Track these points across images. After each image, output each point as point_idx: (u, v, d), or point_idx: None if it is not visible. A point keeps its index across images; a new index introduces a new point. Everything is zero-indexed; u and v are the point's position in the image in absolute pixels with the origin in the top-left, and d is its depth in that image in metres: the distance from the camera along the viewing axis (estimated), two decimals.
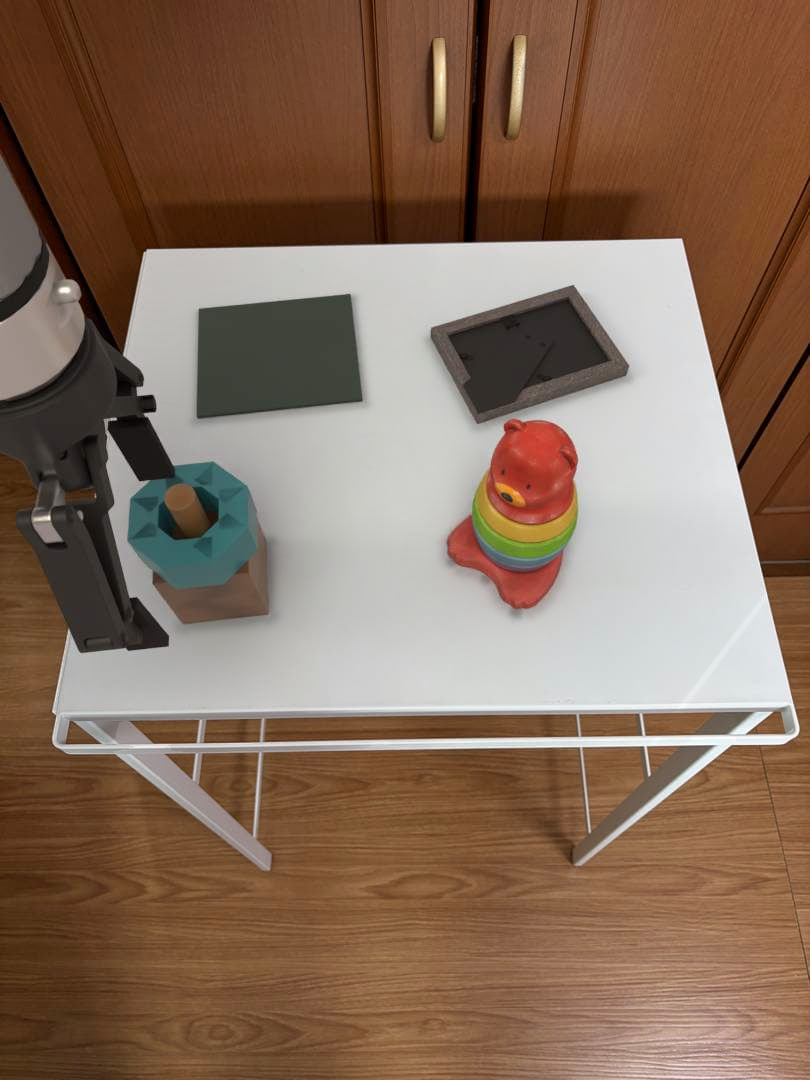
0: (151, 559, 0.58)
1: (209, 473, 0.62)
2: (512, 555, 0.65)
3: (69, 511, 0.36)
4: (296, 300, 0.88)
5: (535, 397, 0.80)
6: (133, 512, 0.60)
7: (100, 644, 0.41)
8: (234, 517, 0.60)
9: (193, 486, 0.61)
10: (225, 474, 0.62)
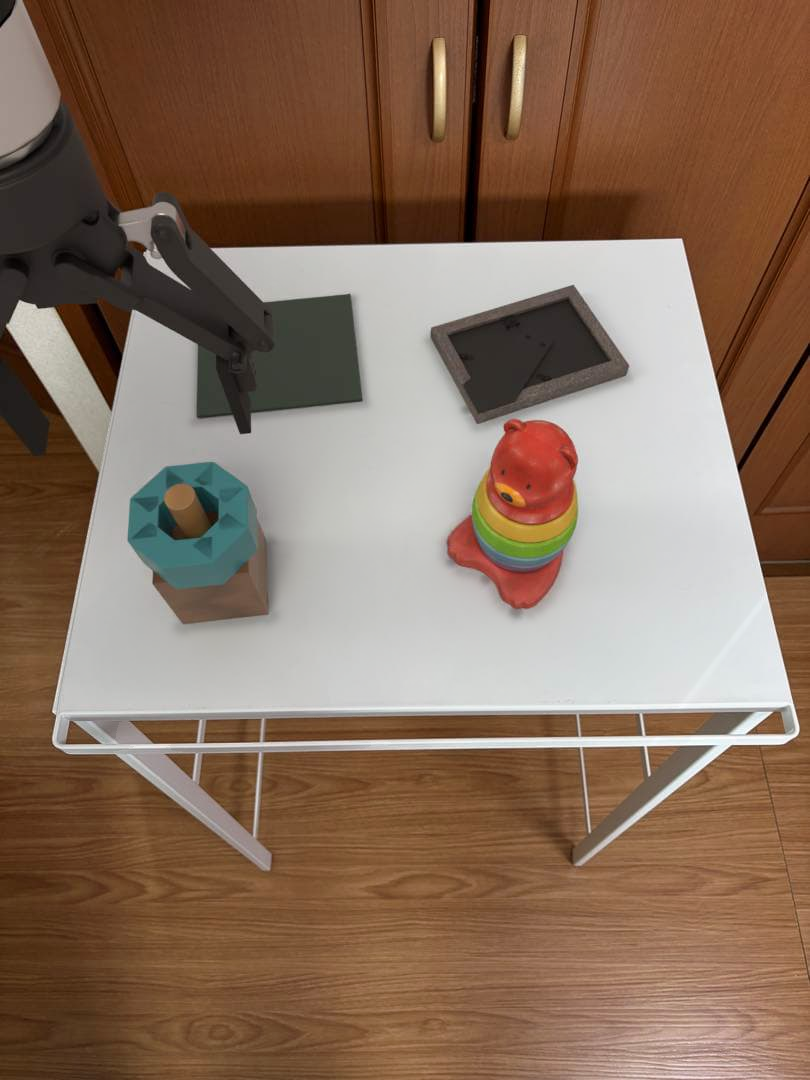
0: (151, 559, 0.58)
1: (209, 473, 0.62)
2: (512, 555, 0.65)
3: None
4: (296, 300, 0.88)
5: (535, 397, 0.80)
6: (133, 512, 0.60)
7: (269, 322, 0.43)
8: (234, 517, 0.60)
9: (193, 486, 0.61)
10: (225, 474, 0.62)
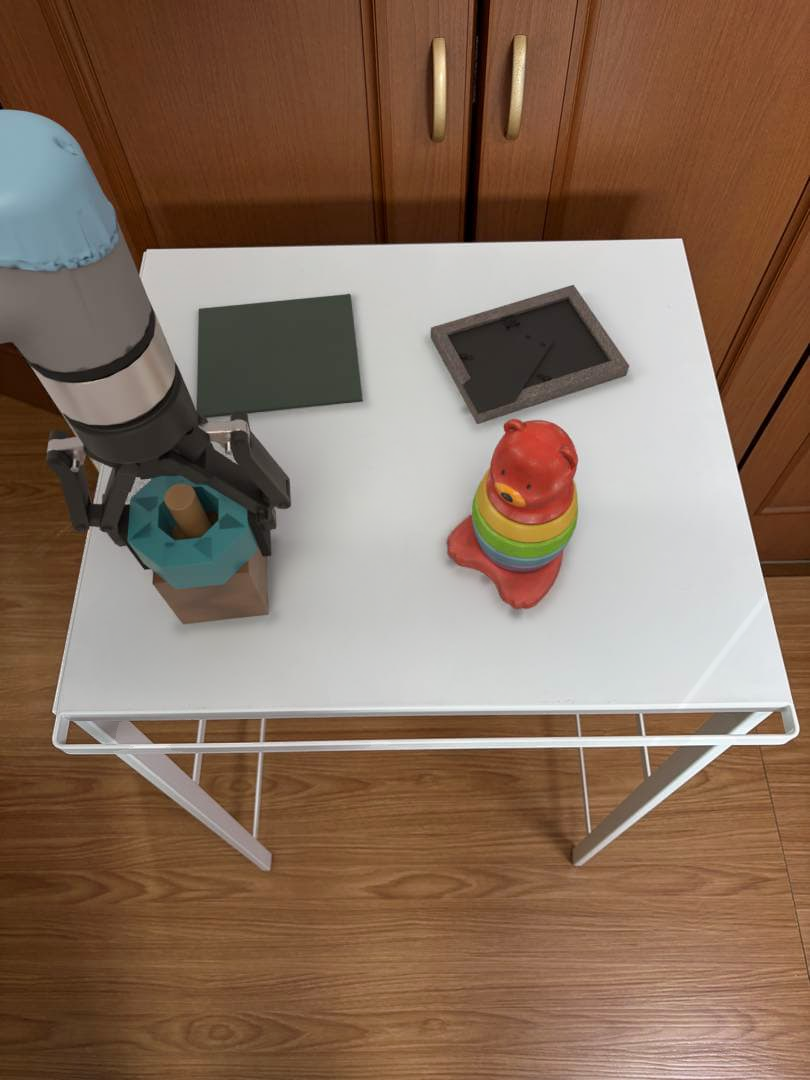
0: (151, 559, 0.58)
1: None
2: (512, 555, 0.65)
3: None
4: (296, 300, 0.88)
5: (535, 397, 0.80)
6: (133, 512, 0.60)
7: (288, 488, 0.59)
8: (234, 517, 0.60)
9: (193, 486, 0.61)
10: None
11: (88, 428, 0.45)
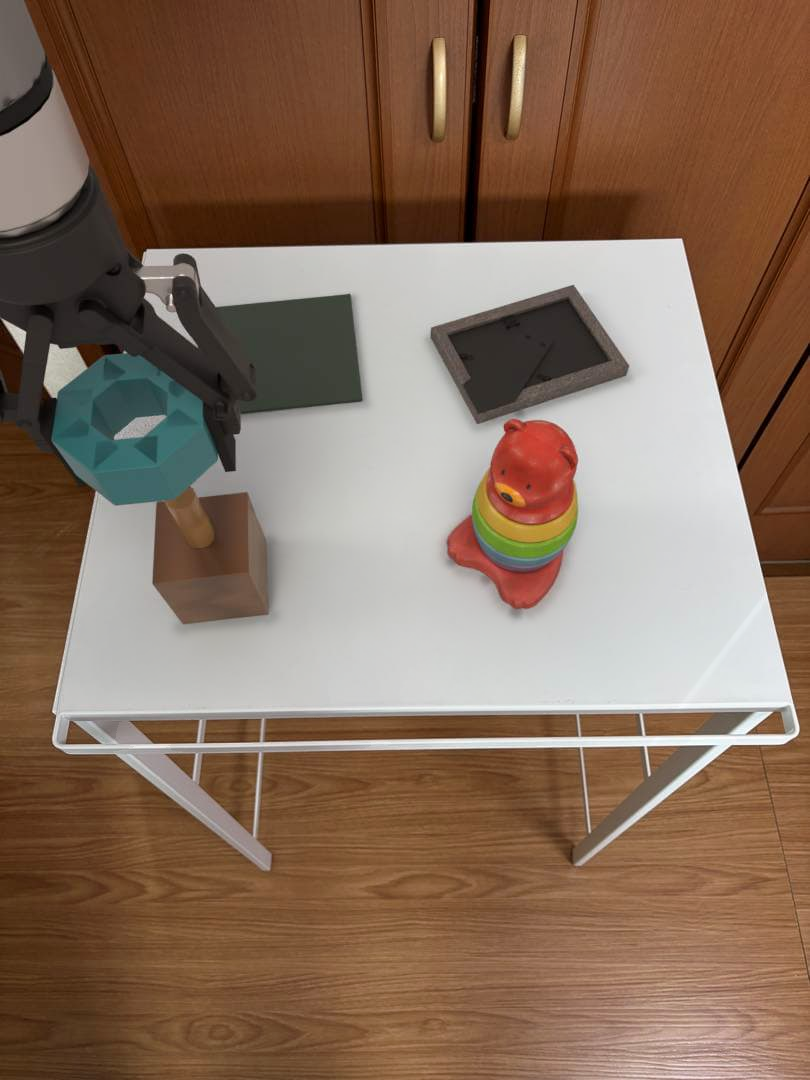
0: (80, 462, 0.46)
1: None
2: (512, 555, 0.65)
3: None
4: (296, 300, 0.88)
5: (535, 397, 0.80)
6: (60, 407, 0.48)
7: (253, 375, 0.47)
8: (186, 413, 0.48)
9: (137, 378, 0.49)
10: None
11: None
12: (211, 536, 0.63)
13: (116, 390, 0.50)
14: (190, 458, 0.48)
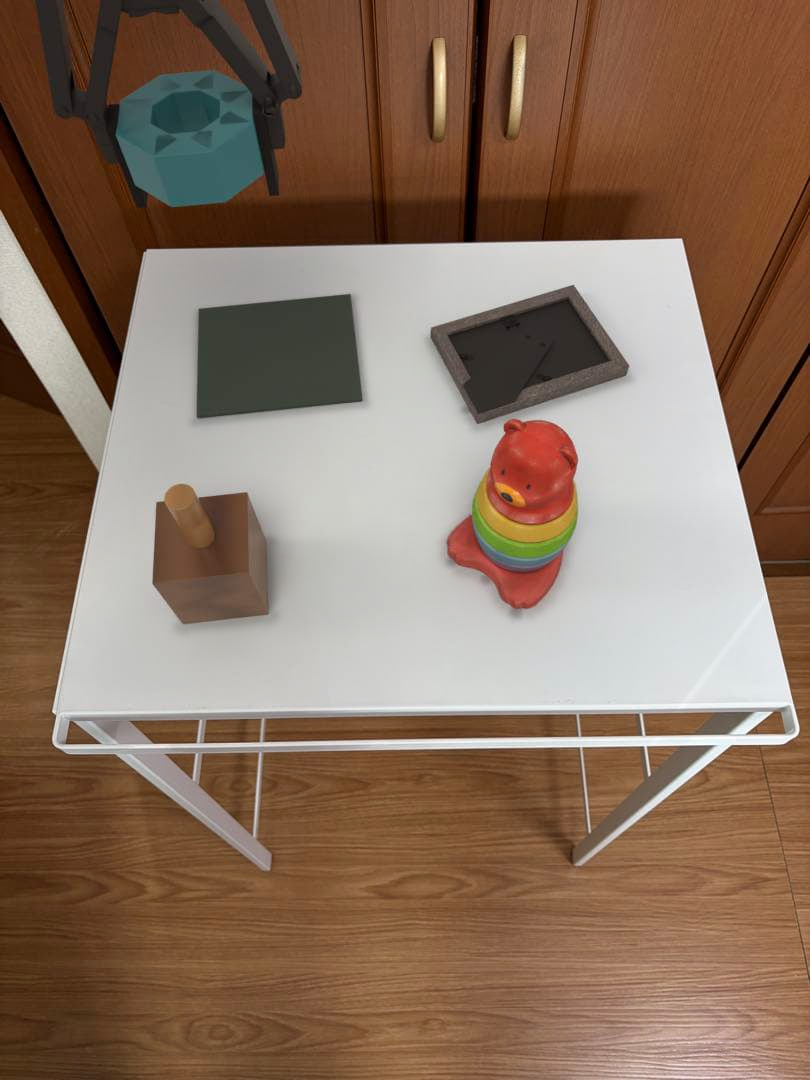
0: (142, 149, 0.51)
1: (210, 79, 0.55)
2: (512, 555, 0.65)
3: None
4: (296, 300, 0.88)
5: (535, 397, 0.80)
6: (123, 111, 0.53)
7: (299, 74, 0.52)
8: (237, 114, 0.52)
9: (191, 90, 0.54)
10: (228, 80, 0.54)
11: None
12: (211, 536, 0.63)
13: (172, 103, 0.54)
14: (240, 157, 0.53)
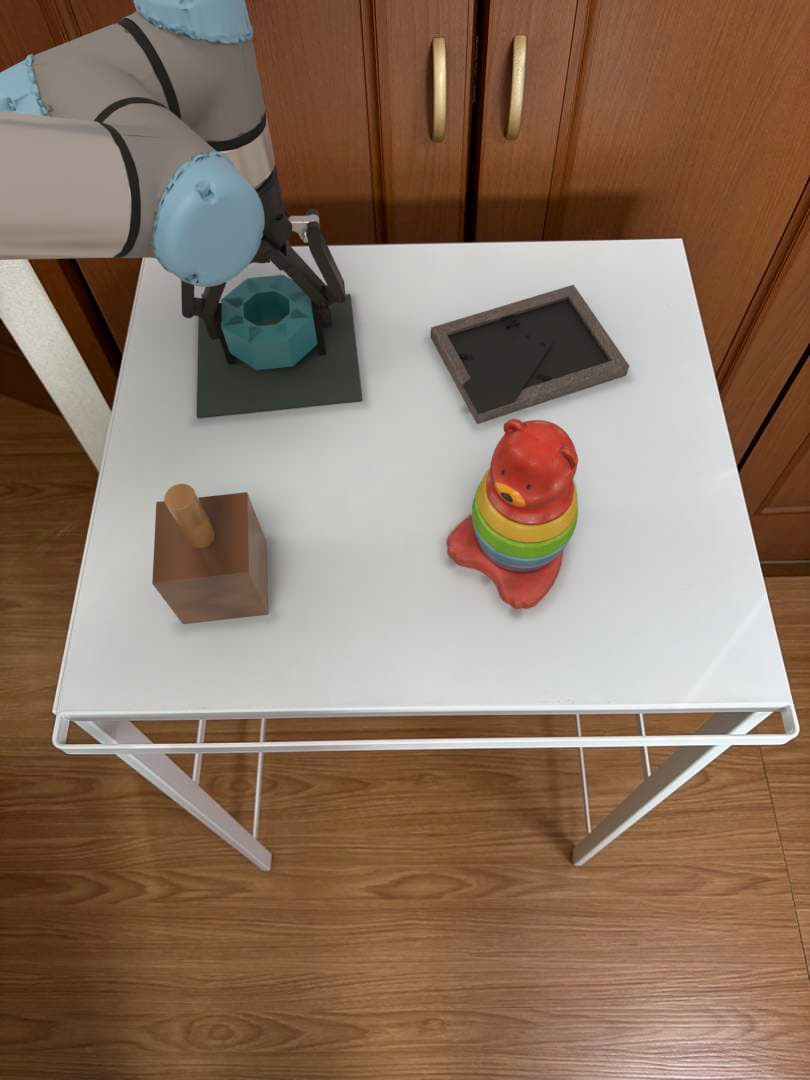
0: (240, 338, 0.77)
1: (281, 282, 0.80)
2: (512, 555, 0.65)
3: None
4: None
5: (535, 397, 0.80)
6: (224, 308, 0.79)
7: (343, 286, 0.78)
8: (302, 311, 0.78)
9: (269, 291, 0.80)
10: (293, 283, 0.80)
11: None
12: (211, 536, 0.63)
13: (255, 299, 0.80)
14: (303, 339, 0.79)
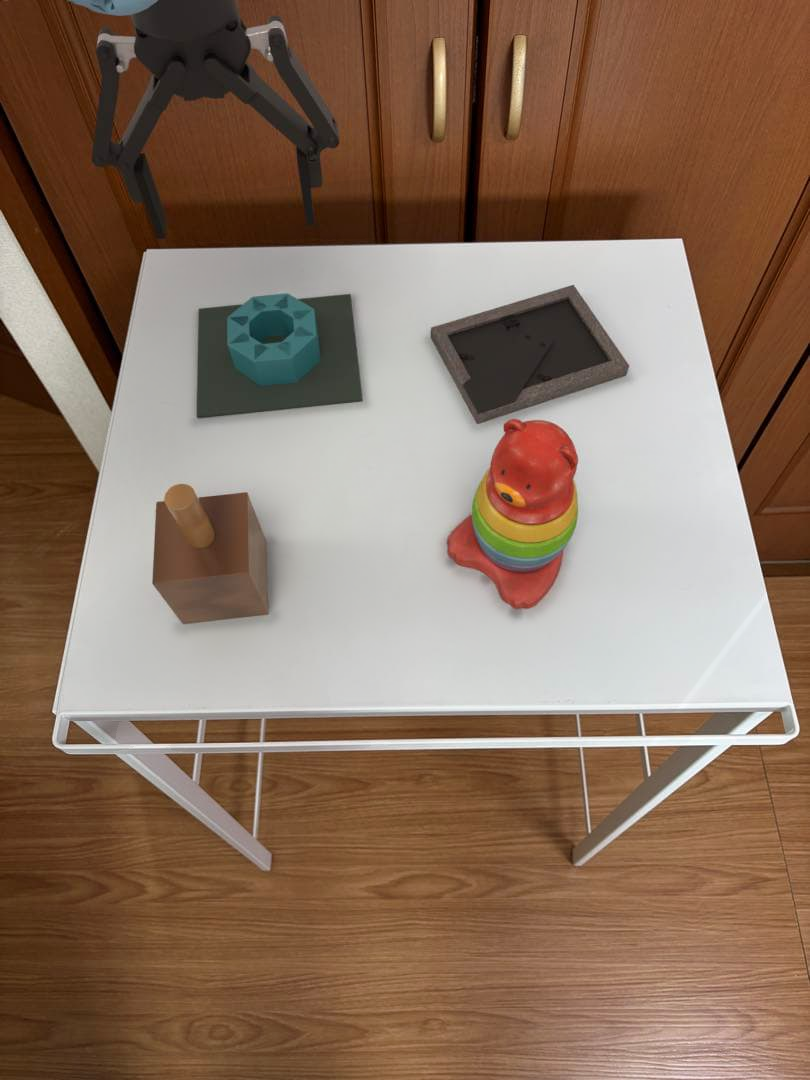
0: (246, 356, 0.79)
1: (285, 301, 0.83)
2: (512, 555, 0.65)
3: None
4: None
5: (535, 397, 0.80)
6: (230, 326, 0.81)
7: (335, 127, 0.62)
8: (305, 329, 0.81)
9: (274, 309, 0.82)
10: (297, 301, 0.83)
11: None
12: (211, 536, 0.63)
13: (260, 317, 0.83)
14: (307, 356, 0.81)
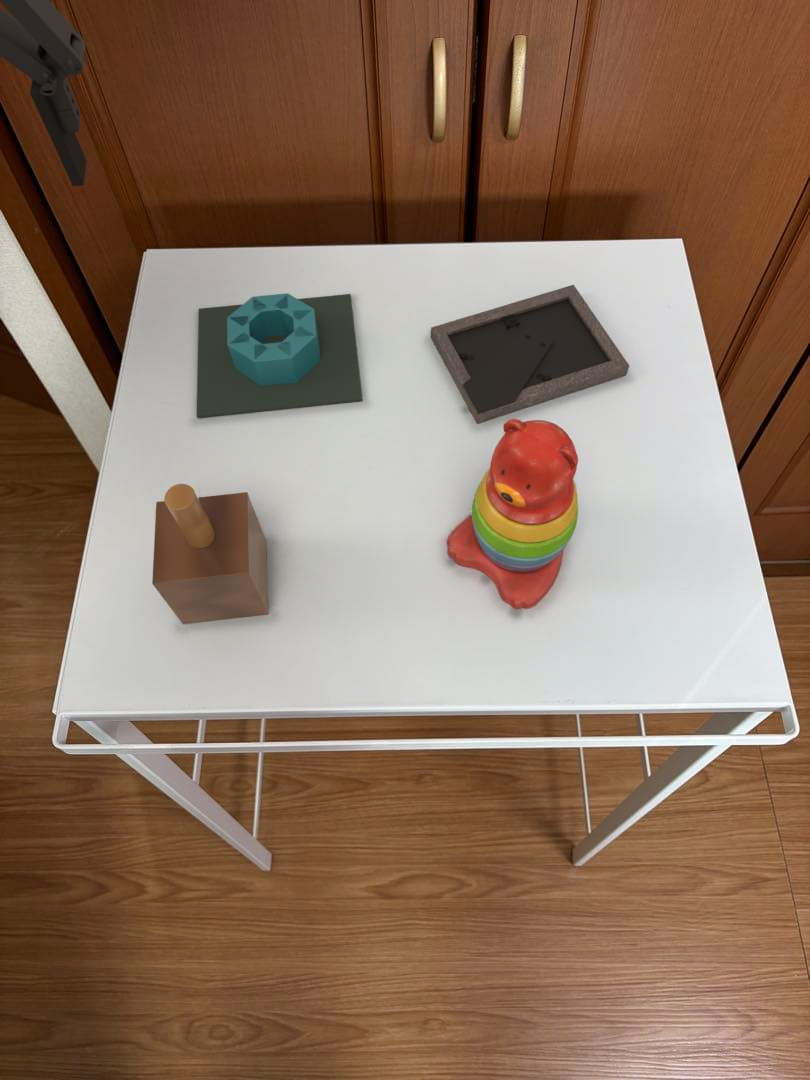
0: (246, 356, 0.79)
1: (285, 301, 0.83)
2: (512, 555, 0.65)
3: None
4: None
5: (535, 397, 0.79)
6: (230, 326, 0.81)
7: (77, 46, 0.46)
8: (305, 329, 0.81)
9: (274, 309, 0.82)
10: (297, 301, 0.83)
11: None
12: (211, 536, 0.63)
13: (260, 317, 0.83)
14: (307, 356, 0.81)
